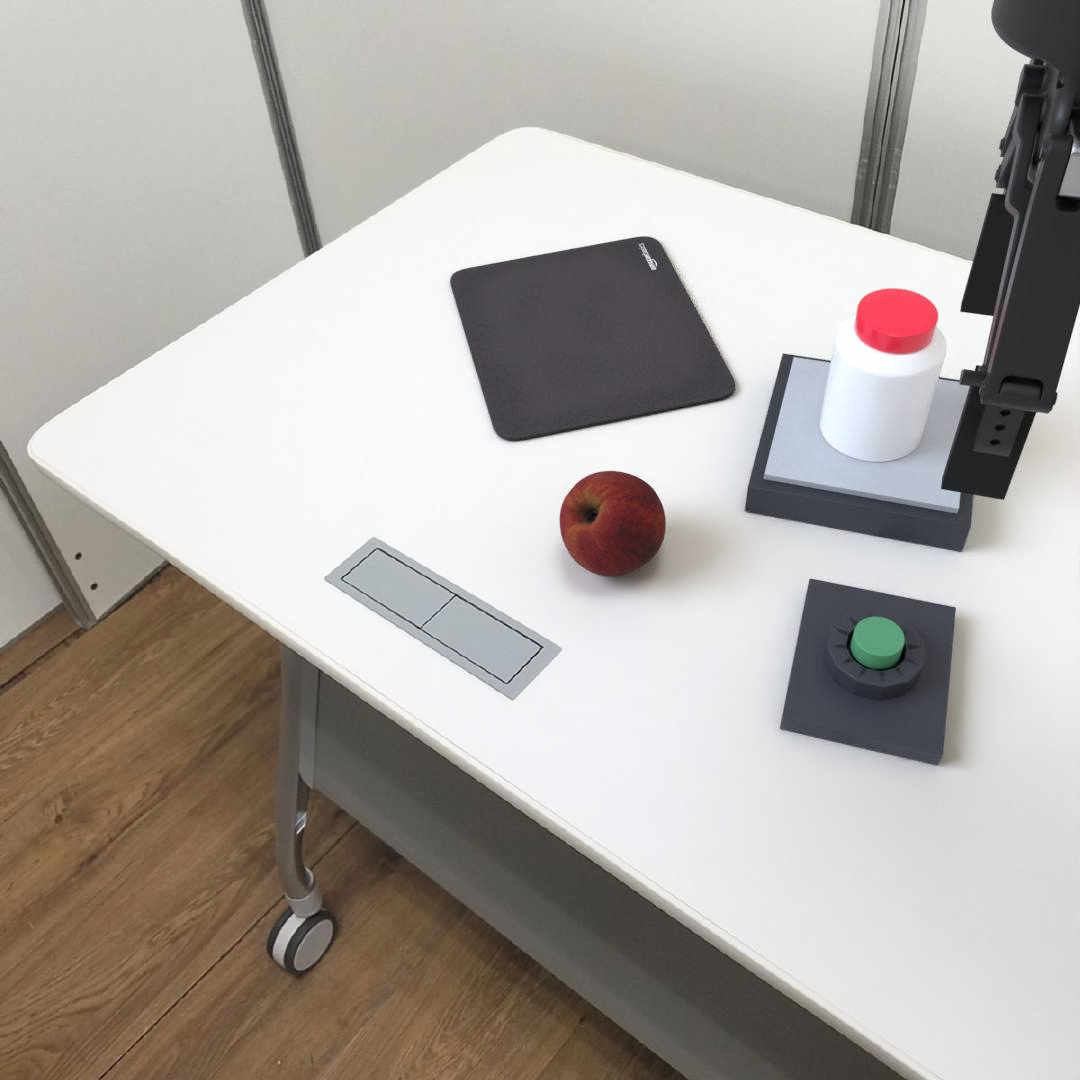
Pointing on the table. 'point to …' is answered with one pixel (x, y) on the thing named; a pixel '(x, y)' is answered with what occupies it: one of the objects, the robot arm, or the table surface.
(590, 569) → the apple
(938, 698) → the button base
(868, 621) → the green button
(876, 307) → the pill bottle
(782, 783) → the table surface
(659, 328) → the mouse pad
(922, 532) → the scale
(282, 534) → the table surface
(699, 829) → the table surface
